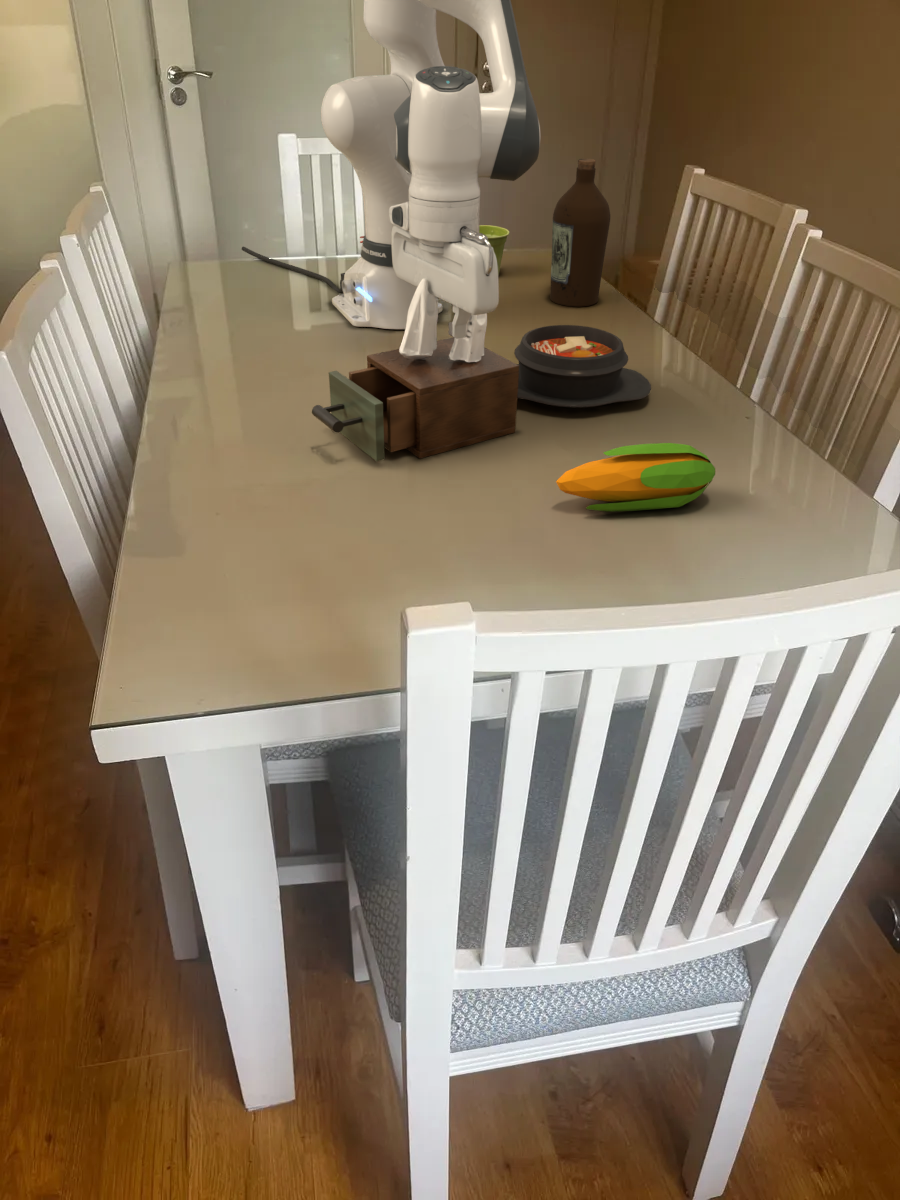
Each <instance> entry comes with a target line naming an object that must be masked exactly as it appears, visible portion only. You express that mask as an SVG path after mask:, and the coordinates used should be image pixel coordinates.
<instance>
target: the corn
mask: <svg viewBox="0 0 900 1200" xmlns="http://www.w3.org/2000/svg"><path fill="white" fill-rule="evenodd" d="M602 453H603V454H604V455H605V456H608V457H606V458H602V459H598V460H593V461H588V462H585V463H583V464H580V465H578V466H576V467H573V468H571V469H568V470H566V471H564V473H562V475H561V476H560V477H559V478H558V479H557V480H556V481H555V484H556V485H557V487H558V489H559V490H560V491H562V492H563V493H564V494H567V495H572V496H576V497H580V498H584V499H588V500H593V501H594V500H596V501H602V502H606V503H596V504H595V503H594V504H590V505H587V506H586V507H585V509H586V510H589V511H590V510H591V511H600V512H612V513H613V512H635V511H648V510H661V509H671V508H672V509H673V508H680V507H683V506H684V505H686V504H689V503H690V502H693V501H694V500H696V499H697V498H699V497H700V496H701V495H702V494H703V493H704V491H705V490H706V489H707V488H708V487H709V485H710V484H711V483H712V481H713V480H714V477H715V476H716V468H715V466H714V465H713V464H712V462H711V460H710V459H709V457H708V456H707V455H706V454H705V453H703V452H702V451H700V450H698V449H696V448H695V447H693V446H692V445H691V444H690V445H689V444H683V443H674V442H656V443H640V444H632V445H630V444H629V445H623V446H619V447H616V448H615V447H614V448H612V449H609V450H607V451H603V452H602ZM608 502H609V503H608Z"/></svg>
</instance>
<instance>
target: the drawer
mask: <svg viewBox="0 0 900 1200" xmlns="http://www.w3.org/2000/svg"><path fill="white" fill-rule="evenodd" d="M328 381H329V400H330V401H329V402H330V406H325V407H323V406H322V405H321V404H316V405H314V406H312V409H311V414H312V416H314V417H315V418H316V419H317V420H318V421H320V422H321V423H322V424H324V425H325V426H326V427H328V428H329V429H330V430H331V431H333V432H334V433H337V434H338V433H339V434H341V435H342V436H344V437H345V438H346V439H347V440H349V442H351V443H353V444H354V445H355V446H356V447H358V448H359V449H360V450H361V451H363V452H364V453H365V454H366V455H368V456H369V457H370V458H372V459H373V460H374V461H375V462H380V461H384V460H385V449H386V450H387V451H389V452H390V453H394V452H397V451H400V450H401V451H402V450H405V449H406V448H408V447H412V446H416V393H415V392H414V391H412V390H411V389H409V388H408V387H406V386H404V385H403V384H401V383H400V382H398V381H397V380H395V379H394V378H392V377H390V376H389V375H387V374H386V373H384V372H383V371H381V370H380V369H378V368H376V367H371V368H367V367H366V368H362V369H357V370H352V371H349V372H348V377H347V376H345V375H344V374H342V373H341V372H340V371H338V370H331V371H329V372H328Z"/></svg>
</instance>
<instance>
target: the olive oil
mask: <svg viewBox="0 0 900 1200" xmlns="http://www.w3.org/2000/svg"><path fill="white" fill-rule="evenodd" d="M596 162H597V160H595V159H593V158H579V159H577V167H576V174H575V182H574V183H573V184H572V185H571V187H569V189H567V191H565V193H563V195H562V196H561V197H560V198H559V199H558V200H557V203H556V205H555V208H554V210H553V213H552V226H551V227H552V229H551V230H552V232H551V233H552V234H551V236H552V237H551V266H550V287H549V288H550V290H549V298H550V301H551V302H553V303H555V304H557V305H561V306H565V307H573V308H575V307H576V308H577V307H578V308H582V307H589V306H593V305H595V304H597V303H598V301H599V297H600V291H601V290H600V289H601V282H602V275H603V269H604V262H605V255H606V249H607V242H608V237H609V230H610V225H611V209H610V205H609V202H608V201H607V199H606V197H605V196H604V195H603V194H602V192H601V191H600V190H599V188H598V186H597V185H596V183H595V177H596V170H597V169H596V167H595V166H596Z"/></svg>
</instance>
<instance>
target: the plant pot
mask: <svg viewBox="0 0 900 1200" xmlns="http://www.w3.org/2000/svg"><path fill="white" fill-rule="evenodd" d="M479 233H482V234H484V235H486V236H487V237H488V241H489V243H490V245H491V247H493V250H494V253H495V255H496V259H497V265H498V276H499V275H500V272H501V271H500V270H501V266H502V259H503V255H504V249H505V244H506V242H507V239H508V236H510V231H509V229H507V228H505V227H502V226H498V225H489V224H487V225H486V224H485V225H484V224H480V225H479ZM486 245H487V244H486Z"/></svg>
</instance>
